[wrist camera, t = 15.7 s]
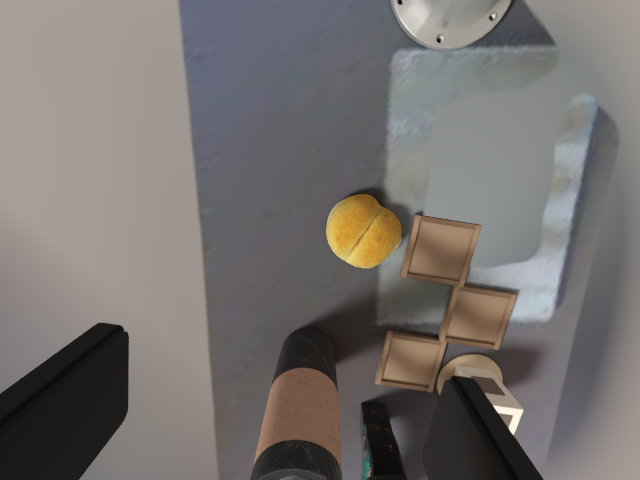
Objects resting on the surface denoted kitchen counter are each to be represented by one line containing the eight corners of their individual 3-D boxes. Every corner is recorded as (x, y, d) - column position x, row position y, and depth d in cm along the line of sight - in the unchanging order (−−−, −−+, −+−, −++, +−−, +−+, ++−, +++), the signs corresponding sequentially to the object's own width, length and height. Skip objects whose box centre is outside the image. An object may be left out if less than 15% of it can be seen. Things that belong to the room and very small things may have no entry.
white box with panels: (456, 364, 43) (482, 403, 36) (492, 369, 43) (524, 409, 36) (447, 395, 44) (469, 439, 37) (482, 400, 44) (510, 444, 38)
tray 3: (386, 330, 42) (387, 333, 42) (444, 338, 43) (446, 342, 42) (374, 380, 44) (375, 384, 44) (430, 388, 45) (432, 392, 44)
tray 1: (414, 214, 38) (416, 215, 38) (478, 224, 39) (481, 225, 38) (399, 274, 40) (401, 277, 40) (460, 284, 41) (463, 286, 40)
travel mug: (309, 315, 42) (296, 450, 23) (347, 353, 43) (365, 510, 24) (268, 348, 43) (223, 502, 24) (306, 384, 45) (292, 557, 25)
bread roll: (351, 181, 38) (355, 183, 34) (409, 225, 39) (418, 232, 35) (311, 234, 39) (309, 243, 36) (367, 275, 41) (371, 287, 37)
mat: (445, 349, 43) (446, 350, 43) (509, 358, 43) (511, 360, 43) (429, 403, 45) (430, 405, 45) (490, 412, 45) (491, 414, 45)
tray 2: (453, 283, 40) (455, 285, 40) (513, 292, 41) (517, 295, 40) (437, 337, 42) (439, 341, 42) (494, 346, 43) (498, 349, 42)
